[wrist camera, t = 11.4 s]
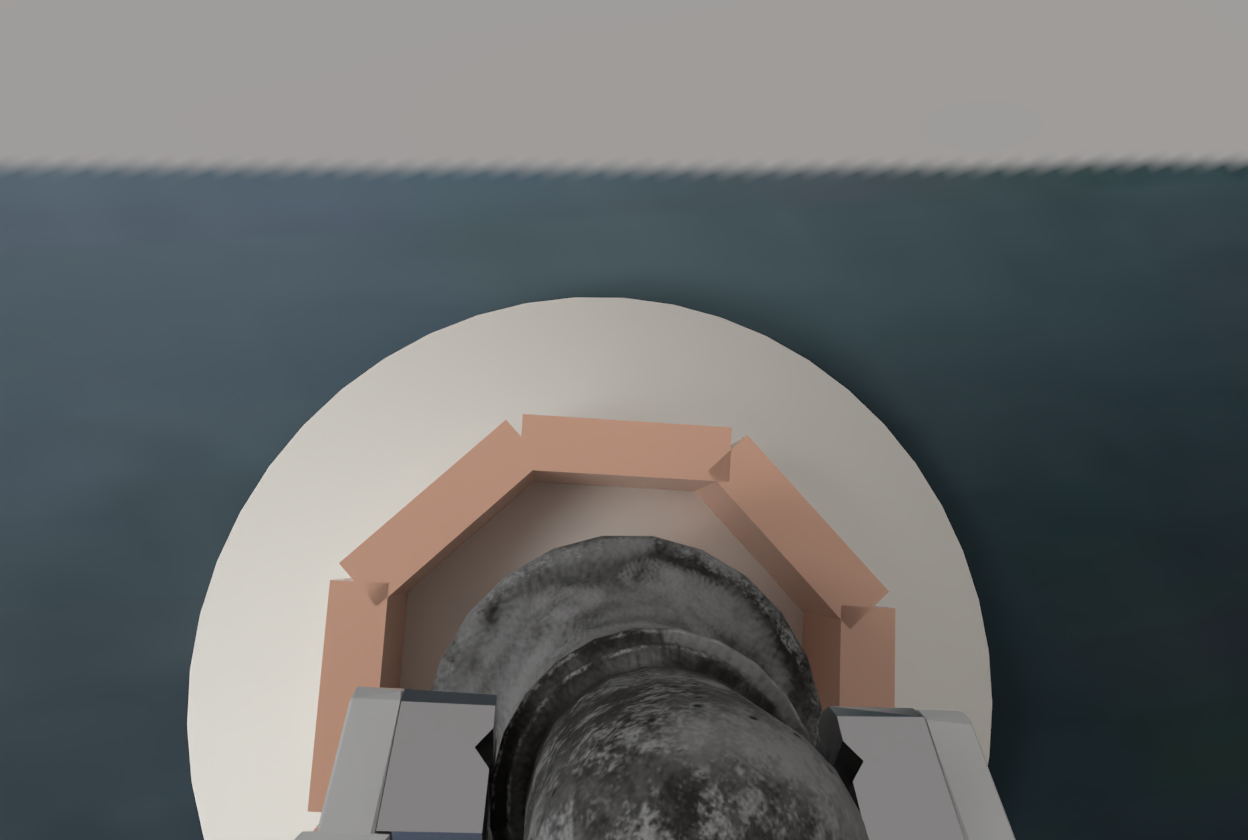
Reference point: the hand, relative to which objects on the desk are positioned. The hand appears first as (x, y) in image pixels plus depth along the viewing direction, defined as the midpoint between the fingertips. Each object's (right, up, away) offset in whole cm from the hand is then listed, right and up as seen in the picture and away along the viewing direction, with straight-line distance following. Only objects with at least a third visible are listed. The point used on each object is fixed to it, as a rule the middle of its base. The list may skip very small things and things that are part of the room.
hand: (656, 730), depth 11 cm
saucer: (-1, -2, +9) cm, 10 cm away
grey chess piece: (-1, -2, +7) cm, 7 cm away
